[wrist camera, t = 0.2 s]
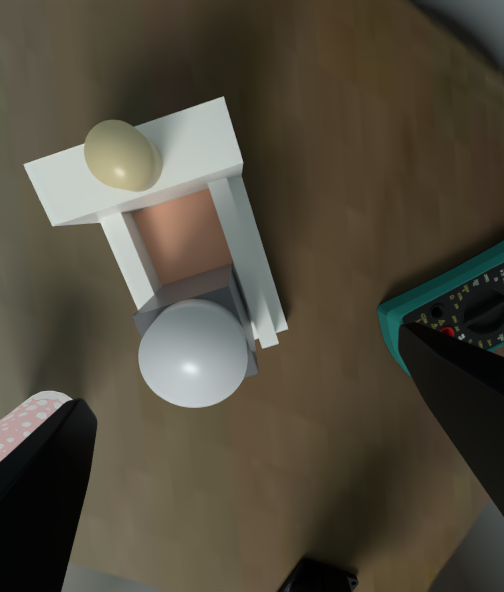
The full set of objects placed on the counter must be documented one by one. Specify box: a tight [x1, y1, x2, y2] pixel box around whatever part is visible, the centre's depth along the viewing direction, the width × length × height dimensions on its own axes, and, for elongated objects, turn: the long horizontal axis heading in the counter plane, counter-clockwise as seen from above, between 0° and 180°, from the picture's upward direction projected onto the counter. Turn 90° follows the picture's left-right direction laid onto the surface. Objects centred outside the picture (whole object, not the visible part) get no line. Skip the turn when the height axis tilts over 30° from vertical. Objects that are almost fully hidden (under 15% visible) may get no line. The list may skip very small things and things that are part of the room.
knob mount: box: [23, 96, 288, 349], centre depth 19 cm, size 14×10×9 cm
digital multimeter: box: [377, 240, 504, 378], centre depth 25 cm, size 7×15×3 cm, turn 120°
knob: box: [132, 264, 259, 408], centre depth 19 cm, size 5×5×9 cm
